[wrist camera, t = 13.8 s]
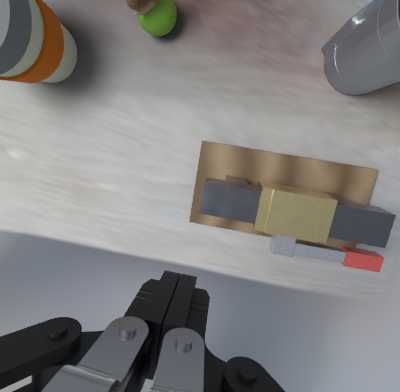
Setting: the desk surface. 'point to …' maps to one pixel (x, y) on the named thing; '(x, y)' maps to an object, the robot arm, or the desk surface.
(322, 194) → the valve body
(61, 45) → the reusable coffee cup
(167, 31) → the snail figurine
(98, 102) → the desk surface
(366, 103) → the desk surface
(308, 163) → the base board
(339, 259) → the valve lever
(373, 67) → the robot arm
